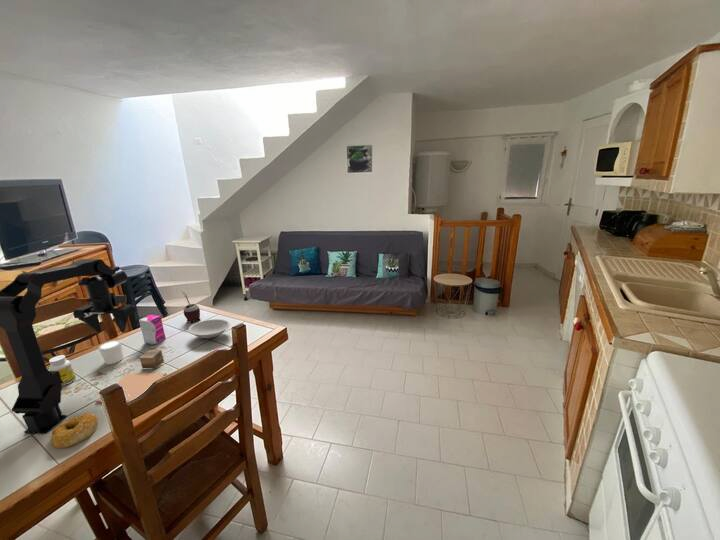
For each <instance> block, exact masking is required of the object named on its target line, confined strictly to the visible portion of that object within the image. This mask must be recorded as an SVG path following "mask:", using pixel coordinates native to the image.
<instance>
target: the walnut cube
mask: <svg viewBox="0 0 720 540" xmlns="http://www.w3.org/2000/svg"><path fill="white" fill-rule="evenodd" d="M139 360H140V361H139V362H140V365H141V367H142V368H156V367H157V368H158V367H160V366H161V365H162V363H164V362H165V359H164V355H163V351H162V349H157V350H155V349H149V350H147V351H146V352H145V353H143V354H142V355H141V356H140V357H139ZM142 368H141V369H142ZM157 368H156V369H157Z"/></svg>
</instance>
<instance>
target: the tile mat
mask: <svg viewBox="0 0 720 540" xmlns="http://www.w3.org/2000/svg"><path fill="white" fill-rule="evenodd" d="M165 375H166V376H167V373H166V372H128V373H126V374H125V375H124V376H123V377H121V379H119V380H118V381H117V382H118V384H120V385H121V386H122V387H123V388H124V392H125V395H126V398H127V402H129V401H130V400H132V399H134V398H136V397H137V396H139V395H140V394H142V393H143V392H144V391H145V390H146V389H147V388H148V387H150V385H151V384H152V383H153V382H154V381H156V380H158V379H159V378H161V377H163V376H165ZM166 376H165V377H166ZM126 389H127V391H126ZM128 394H130V397H129V396H128ZM95 403H96V404H98V403H99V404H100V403H101V404H102V402H101V399H100V396H99V397H98V398H97V399H95Z"/></svg>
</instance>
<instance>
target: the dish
mask: <svg viewBox="0 0 720 540" xmlns="http://www.w3.org/2000/svg"><path fill="white" fill-rule="evenodd" d="M230 326H231V323H230V322H229V320H226V319H221V318H212V319H205V320H200V321H196V322H195V323H192V324H191V325H190V326H189V327H188V330H187V331H188V333H189V334H190V335H193V336H196V337H198V338H202V339H210V338H215V337H218V336H220V335H222V334H223V333H224V332H225V331H226V330H227V329H228V328H229V327H230Z"/></svg>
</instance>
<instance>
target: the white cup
mask: <svg viewBox="0 0 720 540" xmlns="http://www.w3.org/2000/svg"><path fill="white" fill-rule="evenodd" d="M98 350H99V352H100V354H101V356H102V358H103V361H104V362H105V364H106V365H113V364H112V363H114V364H116V362H117V363H119V362H120V360H121V361H122V360H123V359H124V353H123V347H122V342H121V340H119V339H118V340H117V339H114V340H109V341H106V342H105V343H102V344H100V345H99V347H98Z"/></svg>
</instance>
